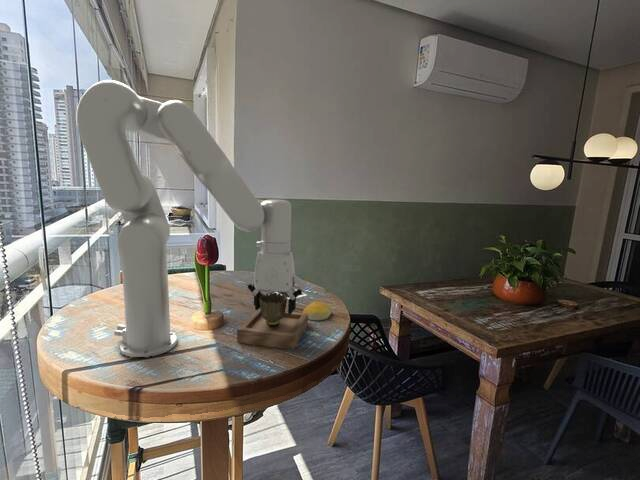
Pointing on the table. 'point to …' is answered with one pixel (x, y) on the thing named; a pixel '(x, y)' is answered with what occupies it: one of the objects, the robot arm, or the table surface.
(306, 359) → the table surface
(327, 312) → the bread roll
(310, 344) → the table surface
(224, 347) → the table surface
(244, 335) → the walnut tray
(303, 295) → the cell phone
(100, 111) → the robot arm
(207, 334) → the table surface
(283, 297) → the cup
